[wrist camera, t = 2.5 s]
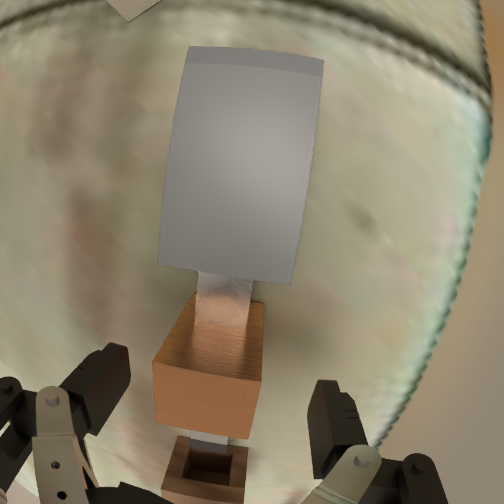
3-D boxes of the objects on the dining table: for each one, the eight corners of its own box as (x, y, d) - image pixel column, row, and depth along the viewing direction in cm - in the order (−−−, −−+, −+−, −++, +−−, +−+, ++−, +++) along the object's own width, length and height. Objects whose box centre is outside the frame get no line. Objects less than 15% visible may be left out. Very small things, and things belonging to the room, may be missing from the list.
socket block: (179, 461, 21) (165, 508, 15) (178, 435, 20) (160, 489, 14) (241, 472, 21) (236, 522, 15) (248, 447, 20) (243, 504, 14)
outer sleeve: (190, 238, 16) (157, 264, 11) (212, 85, 14) (189, 46, 9) (282, 252, 16) (290, 285, 11) (306, 96, 14) (323, 60, 9)
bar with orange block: (188, 411, 19) (165, 484, 12) (217, 105, 14) (181, 51, 7) (241, 421, 19) (233, 497, 12) (293, 114, 14) (314, 63, 7)
